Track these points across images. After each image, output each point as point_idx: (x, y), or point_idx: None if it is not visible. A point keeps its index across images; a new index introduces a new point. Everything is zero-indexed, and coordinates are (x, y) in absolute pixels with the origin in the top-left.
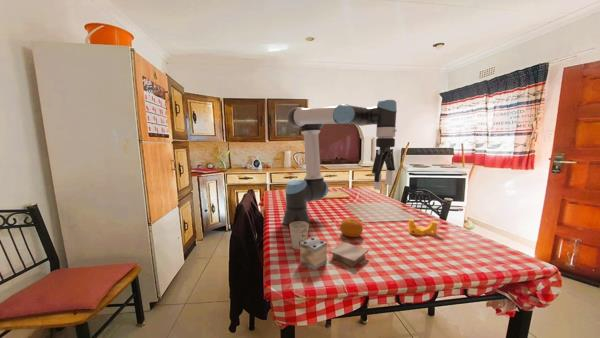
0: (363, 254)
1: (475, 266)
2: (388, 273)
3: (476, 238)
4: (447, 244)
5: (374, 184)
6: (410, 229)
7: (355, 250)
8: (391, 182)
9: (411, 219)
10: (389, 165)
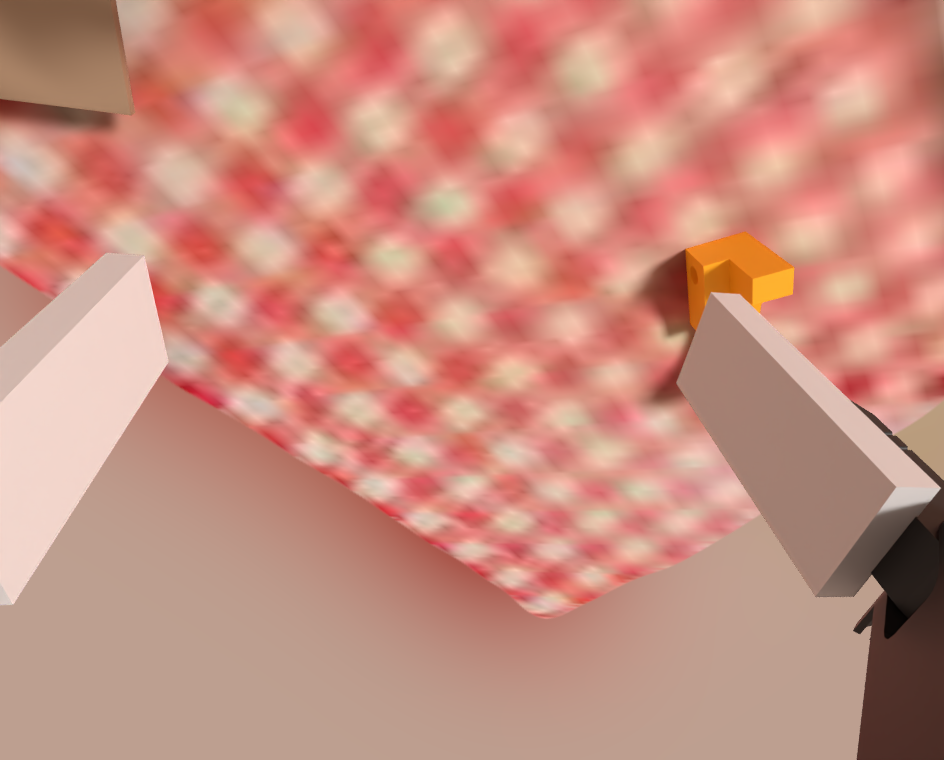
0: (48, 103)
1: (434, 503)
2: (86, 259)
3: (739, 500)
4: (608, 422)
5: (60, 306)
6: (698, 266)
7: (34, 27)
8: (696, 409)
9: (781, 286)
10: (884, 725)
